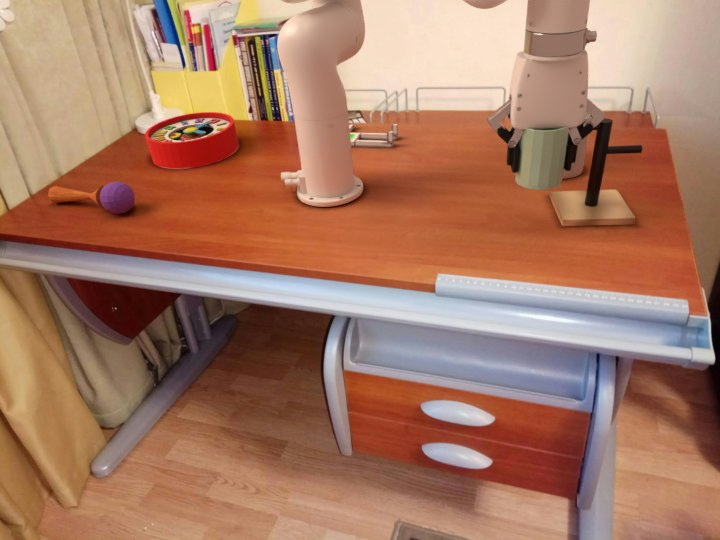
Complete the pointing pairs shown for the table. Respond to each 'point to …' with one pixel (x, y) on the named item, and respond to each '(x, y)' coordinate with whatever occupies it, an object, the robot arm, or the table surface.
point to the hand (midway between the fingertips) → (539, 167)
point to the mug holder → (596, 189)
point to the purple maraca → (98, 196)
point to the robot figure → (374, 138)
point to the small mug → (542, 158)
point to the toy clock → (192, 140)
